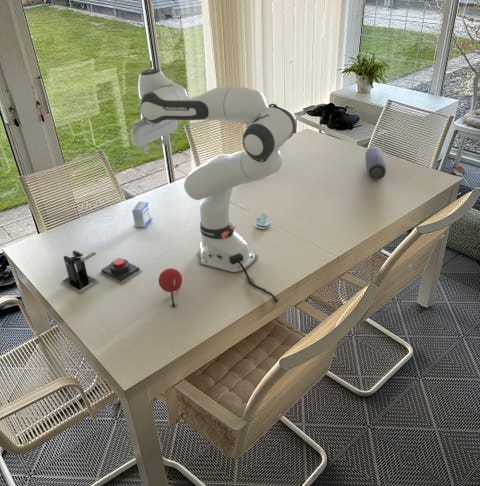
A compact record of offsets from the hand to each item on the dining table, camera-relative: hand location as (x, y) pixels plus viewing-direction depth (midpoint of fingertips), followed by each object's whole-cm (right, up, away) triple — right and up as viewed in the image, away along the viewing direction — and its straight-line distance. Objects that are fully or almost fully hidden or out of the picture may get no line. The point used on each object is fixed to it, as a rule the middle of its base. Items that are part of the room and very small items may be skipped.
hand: (155, 148), depth 195 cm
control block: (-13, -47, 0) cm, 49 cm away
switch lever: (-24, -42, -13) cm, 50 cm away
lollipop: (+9, -58, -17) cm, 61 cm away
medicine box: (-11, -27, +31) cm, 43 cm away
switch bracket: (-27, -50, -4) cm, 58 cm away
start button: (-13, -44, -2) cm, 46 cm away
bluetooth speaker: (+100, 0, +67) cm, 120 cm away
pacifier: (+41, -29, +26) cm, 57 cm away
